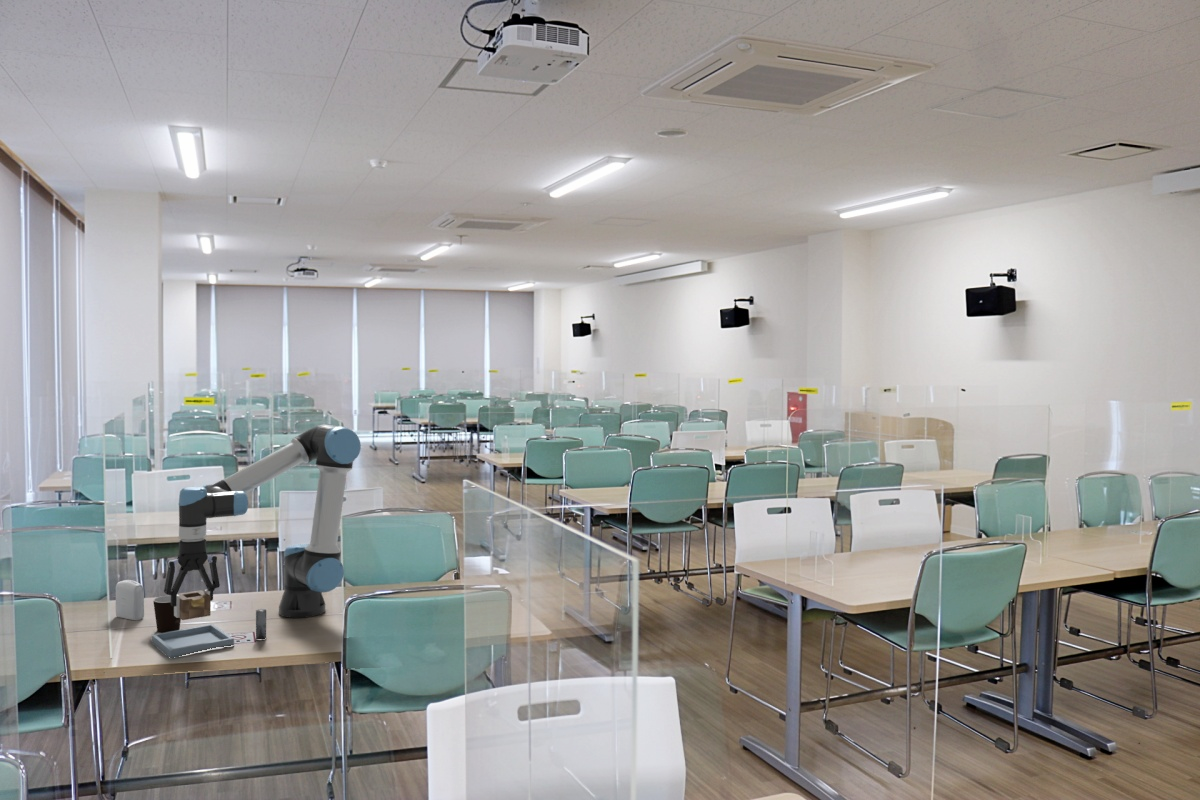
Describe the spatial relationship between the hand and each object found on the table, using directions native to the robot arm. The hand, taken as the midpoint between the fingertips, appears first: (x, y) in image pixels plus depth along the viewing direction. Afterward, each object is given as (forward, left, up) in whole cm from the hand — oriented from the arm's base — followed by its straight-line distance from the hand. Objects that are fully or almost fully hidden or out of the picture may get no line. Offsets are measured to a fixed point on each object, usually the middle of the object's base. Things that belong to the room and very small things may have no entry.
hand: (192, 614), depth 276 cm
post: (-18, +7, -9) cm, 22 cm away
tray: (0, 0, -9) cm, 9 cm away
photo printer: (+7, -40, -10) cm, 42 cm away
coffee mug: (0, -20, -10) cm, 22 cm away
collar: (0, 0, 0) cm, 0 cm away
